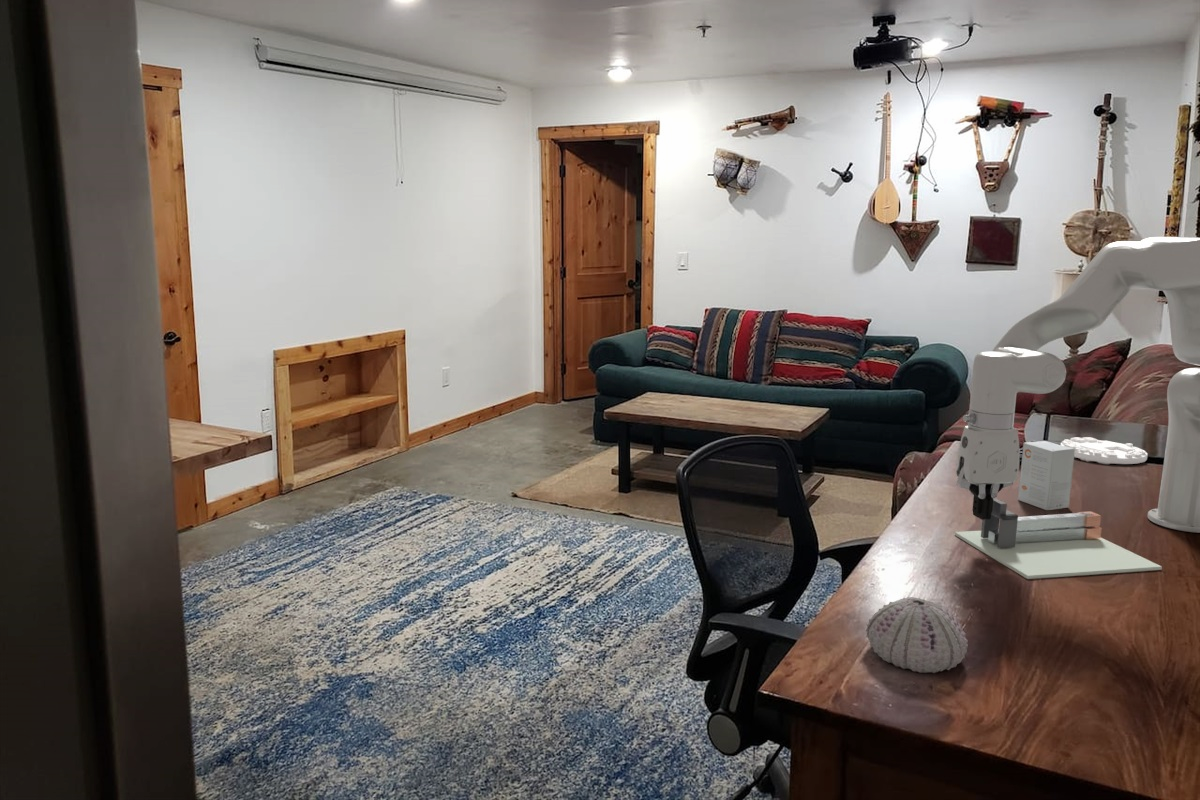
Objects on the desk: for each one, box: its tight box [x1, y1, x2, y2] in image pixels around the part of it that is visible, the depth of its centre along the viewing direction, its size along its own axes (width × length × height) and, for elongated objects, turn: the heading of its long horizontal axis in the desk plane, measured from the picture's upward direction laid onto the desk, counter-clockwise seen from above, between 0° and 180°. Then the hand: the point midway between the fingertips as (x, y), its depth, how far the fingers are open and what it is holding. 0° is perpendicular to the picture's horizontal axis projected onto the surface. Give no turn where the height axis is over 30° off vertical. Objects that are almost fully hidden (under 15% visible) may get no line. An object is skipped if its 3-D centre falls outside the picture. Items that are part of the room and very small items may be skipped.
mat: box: [954, 530, 1163, 580], centre depth 163 cm, size 26×22×1 cm
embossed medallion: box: [1059, 436, 1149, 465], centre depth 233 cm, size 20×20×3 cm
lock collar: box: [980, 497, 1019, 548], centre depth 165 cm, size 3×6×8 cm, turn 10°
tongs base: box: [988, 526, 1103, 544], centre depth 167 cm, size 22×3×6 cm, turn 100°
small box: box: [1017, 440, 1075, 511], centre depth 190 cm, size 8×6×13 cm
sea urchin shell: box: [865, 596, 969, 674], centre depth 123 cm, size 13×14×8 cm
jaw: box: [1017, 511, 1102, 531], centre depth 167 cm, size 18×3×2 cm, turn 102°
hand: (981, 517), depth 164 cm, fingers closed
